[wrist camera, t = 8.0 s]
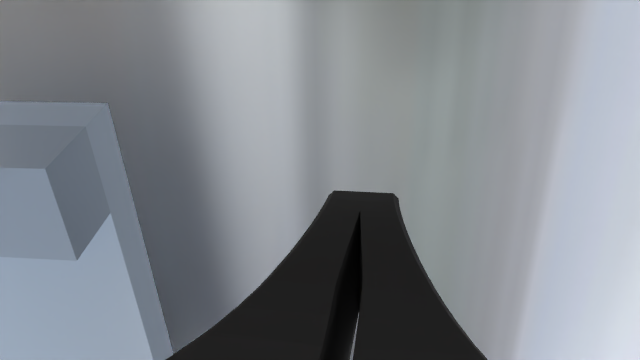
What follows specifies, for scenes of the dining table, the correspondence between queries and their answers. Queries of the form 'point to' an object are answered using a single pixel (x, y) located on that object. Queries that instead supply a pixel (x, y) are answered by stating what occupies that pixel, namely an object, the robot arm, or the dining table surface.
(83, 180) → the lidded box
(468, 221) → the dining table surface
